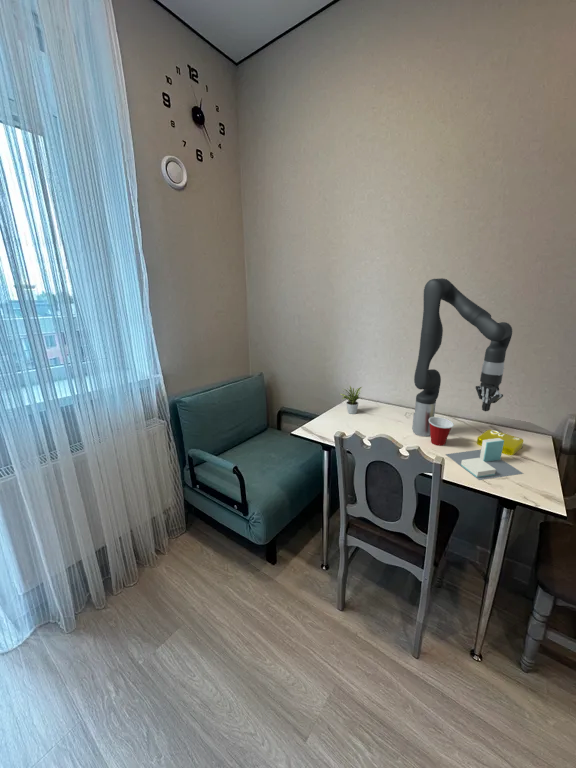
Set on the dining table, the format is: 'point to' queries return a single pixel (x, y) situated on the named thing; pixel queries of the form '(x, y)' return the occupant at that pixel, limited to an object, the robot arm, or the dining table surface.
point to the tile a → (478, 467)
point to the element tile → (510, 442)
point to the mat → (499, 465)
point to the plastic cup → (439, 430)
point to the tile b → (491, 449)
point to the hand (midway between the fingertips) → (485, 410)
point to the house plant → (352, 400)
